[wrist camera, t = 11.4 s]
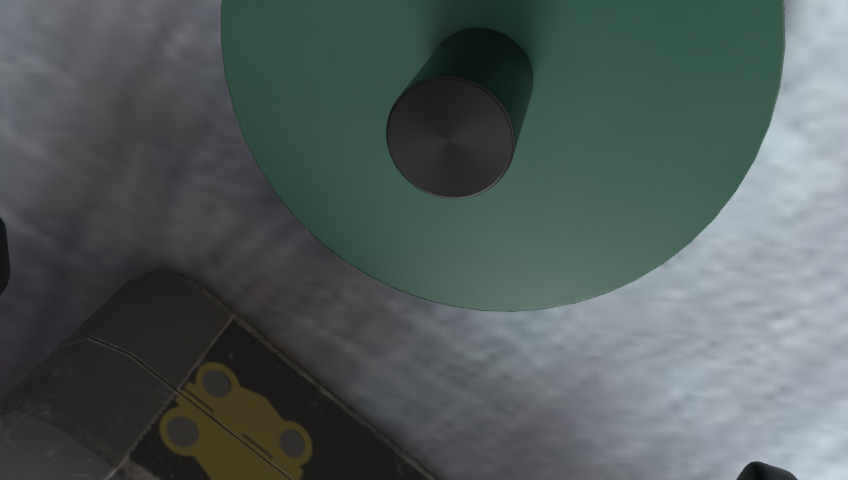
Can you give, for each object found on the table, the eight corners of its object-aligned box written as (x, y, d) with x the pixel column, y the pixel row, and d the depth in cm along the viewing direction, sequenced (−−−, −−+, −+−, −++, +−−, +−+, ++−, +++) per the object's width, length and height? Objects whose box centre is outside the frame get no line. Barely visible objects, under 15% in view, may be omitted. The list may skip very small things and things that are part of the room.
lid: (277, 273, 23) (202, 374, 19) (193, -228, 17) (48, -247, 12) (725, 310, 20) (757, 439, 16) (837, -277, 14) (941, -326, 10)
